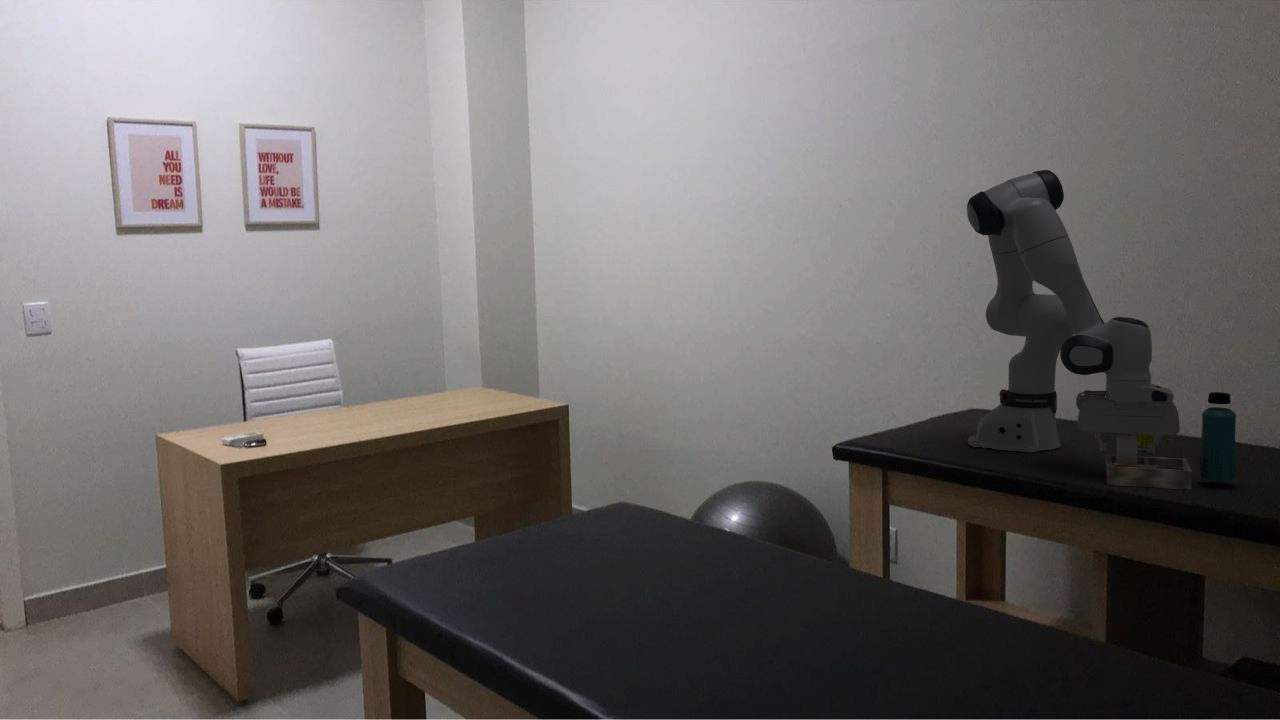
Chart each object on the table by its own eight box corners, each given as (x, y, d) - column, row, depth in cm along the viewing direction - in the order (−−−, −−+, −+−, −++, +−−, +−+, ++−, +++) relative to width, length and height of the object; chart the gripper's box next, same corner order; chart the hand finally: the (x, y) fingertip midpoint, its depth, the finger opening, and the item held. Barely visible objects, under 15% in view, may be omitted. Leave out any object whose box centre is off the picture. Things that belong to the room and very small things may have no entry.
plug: (1116, 479, 218) (1117, 439, 217) (1115, 475, 222) (1116, 435, 220) (1136, 480, 216) (1137, 440, 215) (1135, 476, 220) (1136, 436, 219)
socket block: (1107, 484, 214) (1107, 465, 213) (1105, 471, 224) (1106, 453, 224) (1191, 489, 207) (1191, 469, 207) (1185, 476, 218) (1186, 457, 217)
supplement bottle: (1141, 452, 242) (1142, 413, 241) (1126, 447, 247) (1127, 409, 246) (1160, 450, 243) (1161, 411, 242) (1145, 445, 248) (1146, 407, 247)
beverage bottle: (1242, 487, 208) (1245, 393, 205) (1217, 490, 206) (1220, 396, 203) (1216, 480, 214) (1219, 389, 211) (1191, 483, 212) (1194, 391, 210)
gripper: (1076, 392, 218) (1075, 453, 220) (1181, 395, 209) (1179, 458, 211) (1076, 387, 223) (1075, 447, 225) (1178, 390, 215) (1176, 452, 217)
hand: (1126, 453), depth 218 cm, fingers open, 8 cm apart
